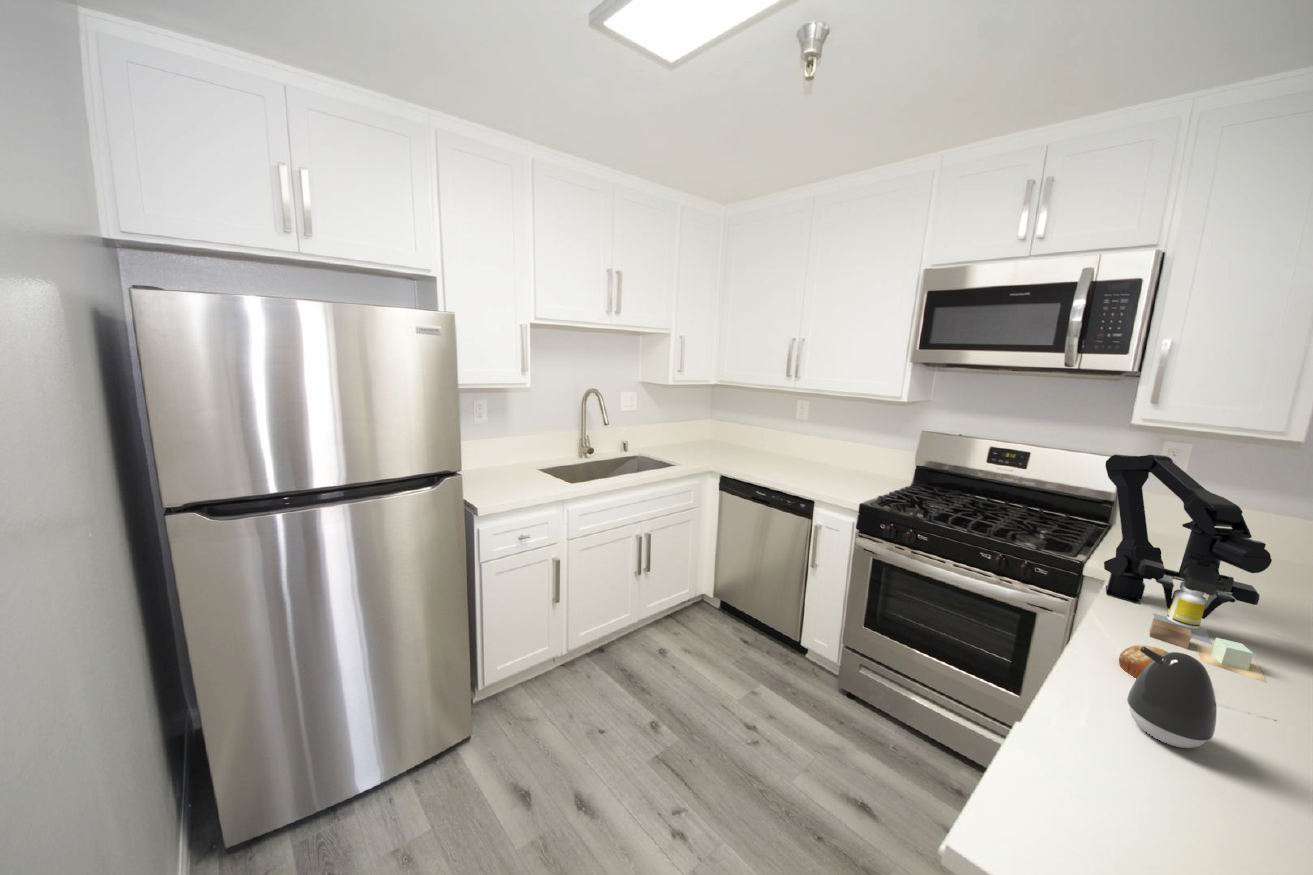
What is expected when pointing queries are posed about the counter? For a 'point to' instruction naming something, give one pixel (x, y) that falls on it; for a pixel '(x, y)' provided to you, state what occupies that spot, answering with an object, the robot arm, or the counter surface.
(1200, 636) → the slate coaster
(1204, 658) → the cork coaster
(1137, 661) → the bread roll
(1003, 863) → the counter surface
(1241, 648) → the sage cube
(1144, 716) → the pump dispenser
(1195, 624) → the supplement bottle
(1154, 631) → the walnut block
